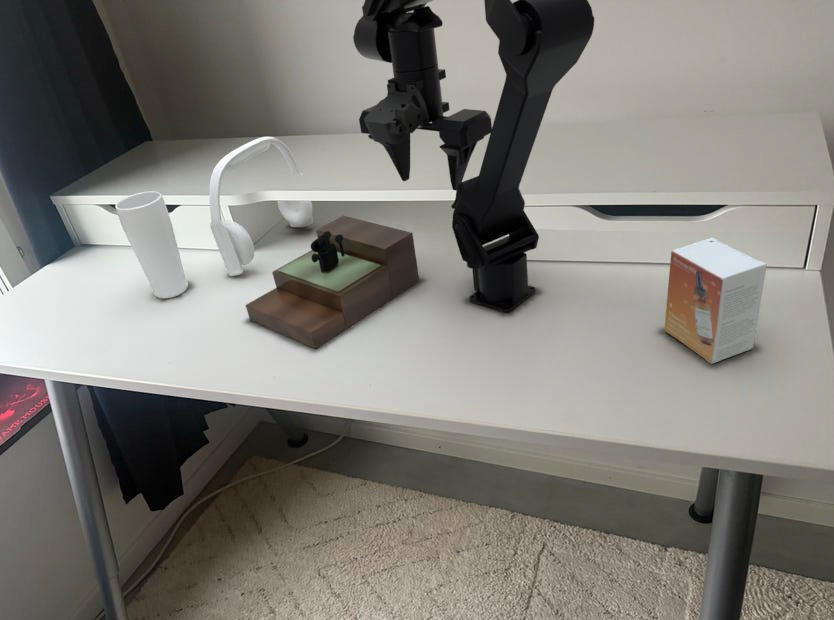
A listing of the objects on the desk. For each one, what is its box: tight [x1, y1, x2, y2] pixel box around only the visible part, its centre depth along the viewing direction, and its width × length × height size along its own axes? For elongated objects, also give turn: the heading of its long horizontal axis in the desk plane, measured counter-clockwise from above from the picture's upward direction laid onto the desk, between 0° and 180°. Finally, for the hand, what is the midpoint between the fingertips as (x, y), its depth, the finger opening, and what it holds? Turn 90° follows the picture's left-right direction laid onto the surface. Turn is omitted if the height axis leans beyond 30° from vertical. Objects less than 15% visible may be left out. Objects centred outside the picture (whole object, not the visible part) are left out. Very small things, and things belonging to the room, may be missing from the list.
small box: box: [663, 237, 768, 365], centre depth 77 cm, size 8×6×10 cm
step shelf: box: [245, 215, 420, 350], centre depth 99 cm, size 14×20×8 cm
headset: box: [208, 136, 314, 277], centre depth 113 cm, size 20×7×18 cm, turn 148°
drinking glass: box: [115, 190, 189, 299], centre depth 107 cm, size 7×7×15 cm
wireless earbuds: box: [310, 231, 345, 273], centre depth 96 cm, size 7×2×5 cm, turn 150°
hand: (430, 184), depth 99 cm, fingers open, 9 cm apart
